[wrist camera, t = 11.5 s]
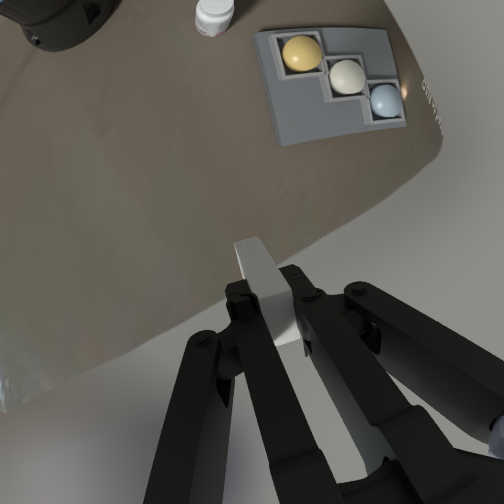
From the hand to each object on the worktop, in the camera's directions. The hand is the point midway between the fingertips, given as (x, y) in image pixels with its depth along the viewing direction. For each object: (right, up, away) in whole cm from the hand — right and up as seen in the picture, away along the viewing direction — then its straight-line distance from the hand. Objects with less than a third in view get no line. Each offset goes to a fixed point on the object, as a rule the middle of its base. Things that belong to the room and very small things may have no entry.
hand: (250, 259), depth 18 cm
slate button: (+20, +23, +20) cm, 37 cm away
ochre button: (+6, +27, +16) cm, 32 cm away
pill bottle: (-6, +33, +15) cm, 36 cm away
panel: (+12, +26, +21) cm, 36 cm away
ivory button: (+13, +25, +18) cm, 34 cm away
